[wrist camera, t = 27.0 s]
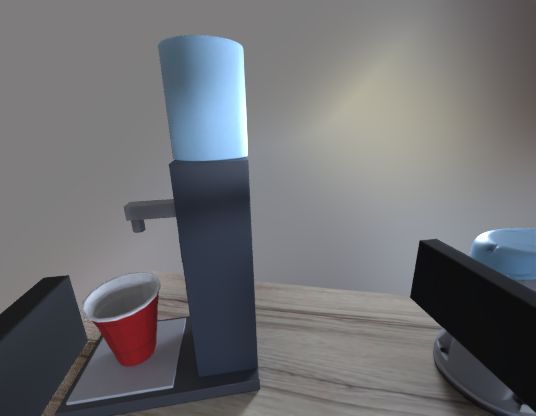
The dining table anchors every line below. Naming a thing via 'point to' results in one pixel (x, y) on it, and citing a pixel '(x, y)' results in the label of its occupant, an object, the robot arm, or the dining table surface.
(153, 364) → the water dispenser
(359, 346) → the dining table surface
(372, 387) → the dining table surface
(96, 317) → the plastic cup
